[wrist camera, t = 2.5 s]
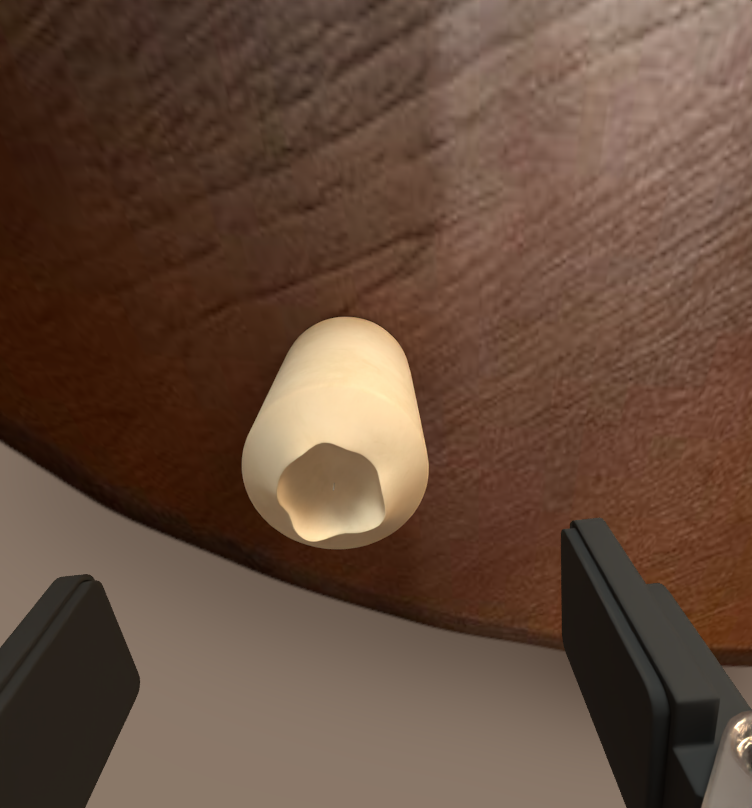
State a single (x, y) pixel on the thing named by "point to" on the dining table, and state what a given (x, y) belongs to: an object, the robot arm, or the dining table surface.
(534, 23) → the dining table surface
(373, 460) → the candle
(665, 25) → the dining table surface
